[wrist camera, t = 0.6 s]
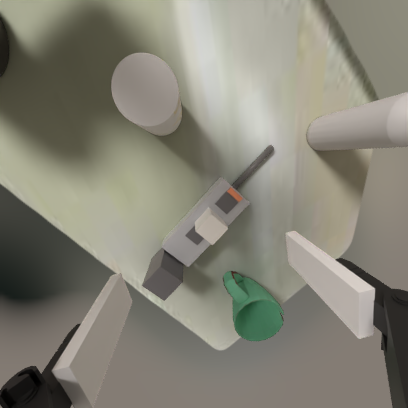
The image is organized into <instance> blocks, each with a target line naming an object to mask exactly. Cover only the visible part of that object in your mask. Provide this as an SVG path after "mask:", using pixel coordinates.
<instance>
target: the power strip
mask: <svg viewBox="0 0 408 408" xmlns="http://www.w3.org/2000/svg"><path fill="white" fill-rule="evenodd" d="M273 149H274V147H273V146H272V145H270V146H268V147H267V148H266V149H265V150H264V152H263V153H262V154H261V155H260V156H259V157H258V158H257V159H256V160H255V161H254V162H253V163H252V164H251V166H250V167H249V168H248V169H247V170H246V171H245V172H244V173H243V174H242V175H241V176H240V177H239V178H238V179H237V181H236V182H235V183H234V184H233V185H232V186H231V185H230V184H229V183H228V182H227V181H226V180H225V179H224V178H222V177H220V178H219V179H218V180H217V181H216V182H215V183H214V184H213V185H212V187H211V188H210V189H209V190H208V191H207V192H206V193H205V194H204V195H203V196H202V197H201V199H200V200H199V201H198V202H197V203H196V204H195V205H194V206H193V207H192V208H191V210H190V211H189V212H188V213H187V214H186V215H185V216H184V217H183V218H182V219H181V221H180V222H179V223H178V224H177V225H176V226H175V227H174V228H173V229H172V230H171V231H170V233H169V234H168V235H167V236H166V237H165V238H164V240H163V244H162V248H163V249H164V250H166V251H167V252H168V253H170V254H171V255H172V256H174V257H175V258H176V259H178V260H179V261H180V262H182V263H183V264H184V265H186V266H187V267H189V266H190V265H191V264H192V263H193V262H194V261H195V260H196V259H197V258H198V257H199V256H200V255H201V254H202V253H203V252H204V251H205V250H206V248H207V247H208V246H209V245H210V243H209V242H208V241H207V240H206V239H204V238H203V237H202V236H201V235H199V234H198V233H197V232H196V231H195V221H196V220H197V219H198V218H199V217H200V216H201V215H202V214H203V213H204V212H205V211H206V210H207V208H208V207H209V208H210V209H211V210H213V211H214V212H215V213H216V214H217V215H218V216H219V217H221V218H222V219H223V220H224V222H225V223H226V225H227V227H228V226H229V225H230V224H231V223H232V222H233V220H234V219H235V218H236V217H237V216H238V215H239V214H240V213H241V212H242V211H243V210H244V209H245V208H246V207H247V206H248V205H249V204H250V203H249V202H248V201H247V200H246V199H245V198H244V197H243V196H242V195H241V194H240V193H239V192H238V191H237V190H236V189H237V188H238V187H239V186H240V185H241V184H242V183H243V182H244V181H245V180H246V179H247V177H248V176H249V175H250V174H251V173H252V172H253V171H254V170H255V169H256V168H257V167H258V166H259V165H260V164H261V163H262V161H263V160H264V159H265V158H266V157H267V156H268V155H269V154H270V153H271V152H272V151H273Z"/></svg>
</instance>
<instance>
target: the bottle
mask: <svg viewBox="0 0 408 408" xmlns="http://www.w3.org/2000/svg"><path fill="white" fill-rule="evenodd" d="M307 141H308V144H309V145H310V147H312V148H313V149H315V150H318V151H323V150H350V149H371V148H392V147H407V146H408V92H406V93H403V94H399V95H395V96H392V97H388V98H385V99H381V100H377V101H374V102H370V103H367V104H363V105H360V106H356V107H352V108H349V109H345V110H342V111H338V112H334V113H331V114H328V115H325V116H321V117H318V118H317V119H315V120H314V121H313V122H312V123H311V124H310V126H309V128H308V130H307Z"/></svg>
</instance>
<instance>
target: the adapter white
mask: <svg viewBox="0 0 408 408" xmlns="http://www.w3.org/2000/svg"><path fill="white" fill-rule="evenodd" d="M227 230H228V227H227V225H226V223H225V222H224V220H223V219H222V218H221V217H219V216H218V215H217V214H216V213H215V212H214V211H213V210H211V209H210V208H209V207H208V208H207V210H206V211H205V212H204V213H203V214H202V215H201V216H200V217H199V218H198V219H197V220H196V221H195V231H196V232H197V233H198V234H199V235H201V236H202V237H203V238H204V239H206V240H207V241H208V242H209V243H210V244H212V245H213V244H214V243H215V242H216V241H217V240H218V239H219V238H220V237H221V236H222V235H223V234H224V233H225V232H226V231H227Z"/></svg>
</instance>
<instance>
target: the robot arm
mask: <svg viewBox="0 0 408 408" xmlns="http://www.w3.org/2000/svg"><path fill="white" fill-rule="evenodd" d="M8 56H9V44H8V38H7V34H6V31H5V28H4V25H3V23H2V21H1V19H0V76H1V75H2V73H3V72H4V70H5V68H6V65H7V62H8ZM285 236H286V244H287V253H288V262H289V264H290V265H291V266H292V267H293V268H294V269H295V270H296V272H297V273H298V274H299V275H300V276H301V277H302V278H303V279H304V280H305V281H306V282H307V283H308V284H309V286H310V287H311V288H312V289H313V290H314V291H315V292H316V293H317V294H318V295H319V296H320V297H321V299H322V300H323V301H324V302H325V303H326V304H327V305H328V306H329V307H330V308H331V309H332V310H333V312H335V314H336V315H337V316H338V317H339V318H340V319H341V320H342V321H343V322H344V323H345V324H346V326H347V327H348V328H349V329H350V330H351V331H352V332H353V333H354V334H355V335H356V336H357V337H358V339H360V338H364V337H368V336H371V335H374V326H375V327H377V328H378V329H379V330H380V331H381V332H382V343H381V350H384V355H385V362H386V368H387V374H388V381H389V387H390V393H391V400H392V406H393V408H408V292H407V291H404V290H400V289H391V288H389V287H388V286H387V285H385V284H384V283H382V282H381V281H379V280H377V279H376V278H374V277H373V276H371V275H370V274H368V273H366V272H365V271H364V270H362V269H361V268H359V267H358V266H356V265H355V264H353V263H352V262H350V261H347V260H345V259H342V258H339V259H333V258H332V257H330V256H329V255H328V254H326V253H325V252H323V251H322V250H321V249H319V248H318V247H317V246H315V245H314V244H312V243H311V242H310V241H308V240H307V239H305V238H304V237H303V236H301V235H300V234H298V233H297V232H296V231H291V232H287V233H285ZM131 305H132V299H131V297H130V294H129V292H128V289H127V287H126V284H125V282H124V279H123V277H122V274H121V273H120V274H116V275H112V276H111V277H110V279H109V280H108V282H107V283H106V285H105V286H104V288H103V290H102V291H101V293H100V295H99V296H98V298H97V299H96V301H95V302H94V304H93V306H92V307H91V309H90V310H89V312H88V314H87V315H86V317H85V318H84V320H83V322H82V323H81V324H77V325H76V326H75V327H74V328H73V329H72V330H71V331H70V332H69V333H68V335H67V337H66V338H65V339H64V341H63V343H62V344H61V345H60V347H59V349H58V351H57V352H56V353H55V354H54V356H53V357H52V359H51V360H50V362H49V364H48V365H47V366H46V368H45V369H44V371H43V372H42V374H41V373H40V372H39V370H38V369H37V367H36V366H30V367H27V368H25V369H23V370H21V371H20V372H18V373H17V374H16V375H14V376H13V377H12V378H11V379H10V380H9V381H8V382H7V383H6V384H5V385H4V386H3V387H2V389H1V390H0V405H1V406H2V408H70V407H71V405H73V406H74V408H93V407H94V404H95V401H96V399H97V396H98V393H99V390H100V388H101V385H102V382H103V380H104V377H105V374H106V372H107V369H108V366H109V363H110V361H111V358H112V355H113V353H114V350H115V347H116V345H117V342H118V339H119V337H120V334H121V331H122V329H123V326H124V323H125V321H126V318H127V315H128V313H129V310H130V307H131Z"/></svg>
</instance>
